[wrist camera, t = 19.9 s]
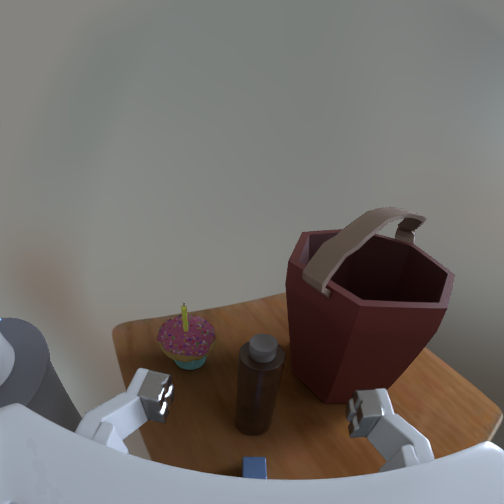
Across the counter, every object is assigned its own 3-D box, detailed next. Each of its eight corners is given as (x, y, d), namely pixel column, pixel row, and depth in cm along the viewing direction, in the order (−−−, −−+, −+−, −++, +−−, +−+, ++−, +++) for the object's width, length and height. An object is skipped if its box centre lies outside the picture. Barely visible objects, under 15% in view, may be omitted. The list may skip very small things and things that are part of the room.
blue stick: (267, 539, 15) (270, 537, 14) (242, 539, 15) (243, 537, 14) (263, 464, 24) (265, 456, 24) (241, 464, 24) (242, 456, 23)
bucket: (362, 312, 53) (392, 191, 43) (436, 382, 34) (502, 240, 24) (249, 341, 45) (259, 187, 35) (313, 452, 26) (392, 266, 16)
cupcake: (222, 375, 37) (221, 309, 33) (163, 382, 35) (149, 316, 30) (211, 337, 45) (209, 274, 40) (160, 342, 42) (150, 279, 38)
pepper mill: (246, 440, 28) (255, 364, 22) (228, 415, 31) (231, 335, 26) (277, 426, 30) (297, 348, 24) (258, 403, 33) (270, 322, 28)
